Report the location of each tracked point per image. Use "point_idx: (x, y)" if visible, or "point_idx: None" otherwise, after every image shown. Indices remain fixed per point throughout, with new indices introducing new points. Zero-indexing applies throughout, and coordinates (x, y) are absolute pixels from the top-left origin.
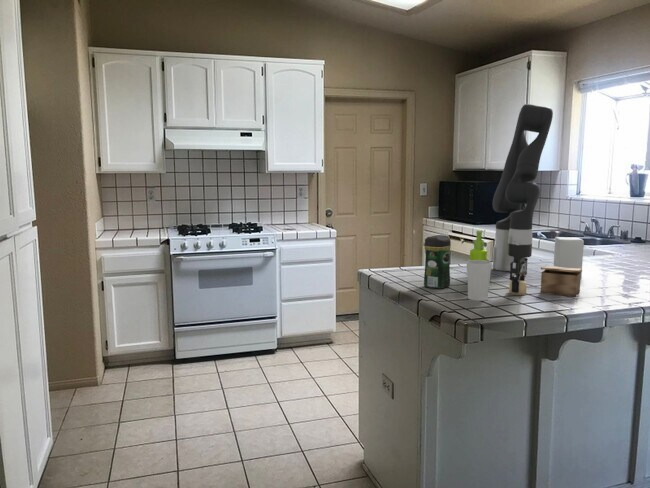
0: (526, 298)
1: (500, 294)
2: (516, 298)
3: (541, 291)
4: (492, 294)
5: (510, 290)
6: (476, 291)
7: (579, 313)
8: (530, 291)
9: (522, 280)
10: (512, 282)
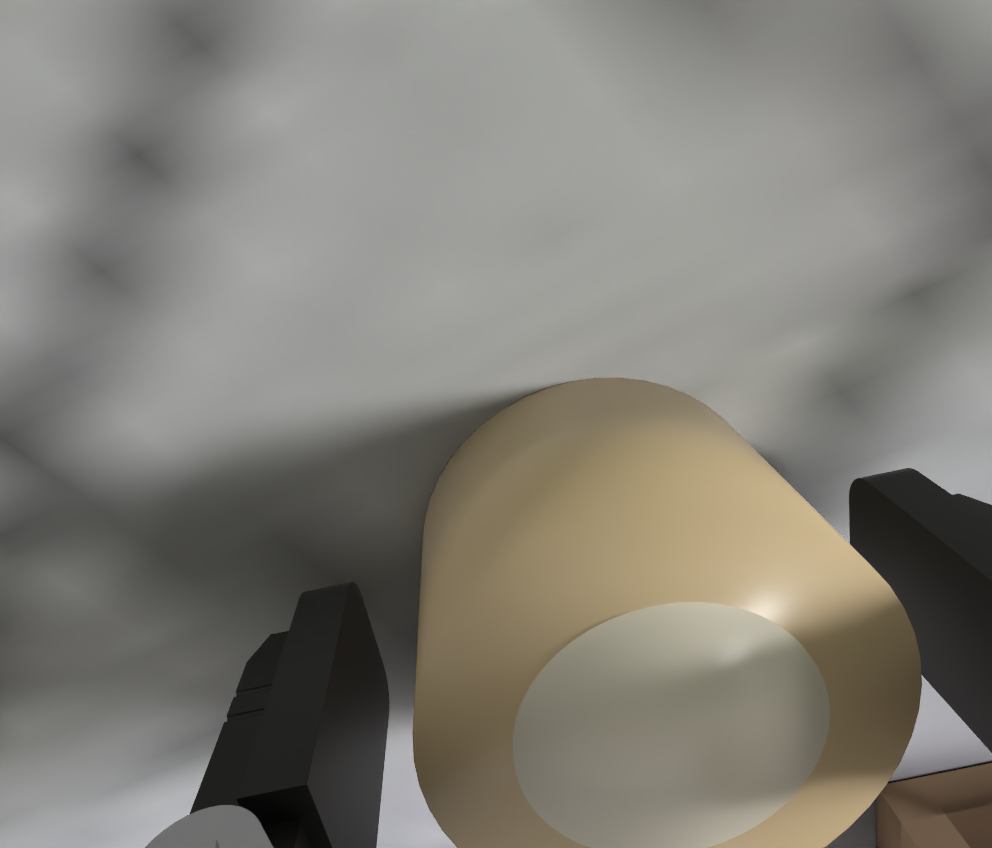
0: None
1: (181, 351)
2: (129, 722)
3: (890, 820)
4: (5, 205)
5: (447, 495)
6: None
7: None
8: None
9: (981, 704)
10: (248, 784)
